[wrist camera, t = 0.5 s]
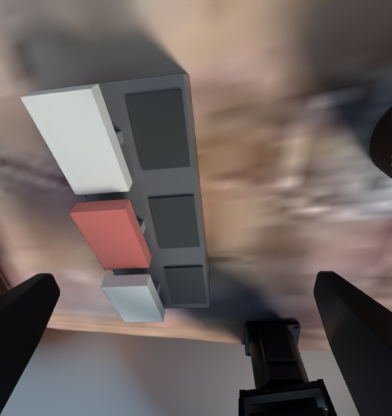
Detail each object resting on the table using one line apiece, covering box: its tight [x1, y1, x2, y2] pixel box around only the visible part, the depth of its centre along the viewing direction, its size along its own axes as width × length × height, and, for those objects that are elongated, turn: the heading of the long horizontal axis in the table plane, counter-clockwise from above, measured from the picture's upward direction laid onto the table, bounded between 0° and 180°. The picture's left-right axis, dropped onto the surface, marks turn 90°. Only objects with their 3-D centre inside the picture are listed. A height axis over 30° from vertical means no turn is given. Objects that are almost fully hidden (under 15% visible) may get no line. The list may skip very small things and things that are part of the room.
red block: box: [69, 199, 151, 269], centre depth 16 cm, size 6×4×1 cm, turn 5°
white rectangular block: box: [20, 84, 133, 195], centre depth 13 cm, size 6×4×1 cm, turn 5°
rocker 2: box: [100, 274, 165, 322], centre depth 19 cm, size 6×4×1 cm, turn 5°
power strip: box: [85, 73, 210, 309], centre depth 19 cm, size 19×8×5 cm, turn 6°
